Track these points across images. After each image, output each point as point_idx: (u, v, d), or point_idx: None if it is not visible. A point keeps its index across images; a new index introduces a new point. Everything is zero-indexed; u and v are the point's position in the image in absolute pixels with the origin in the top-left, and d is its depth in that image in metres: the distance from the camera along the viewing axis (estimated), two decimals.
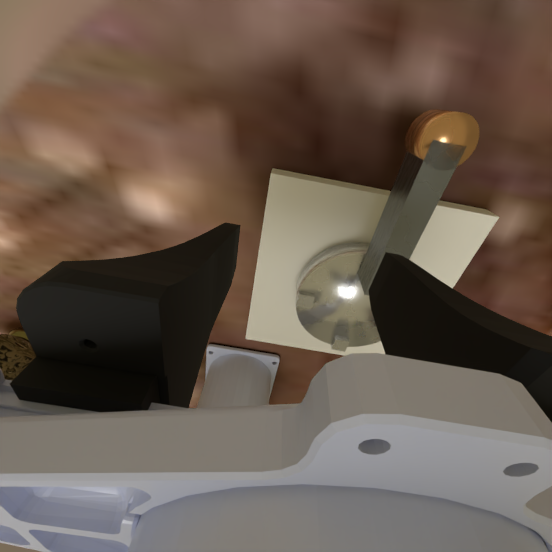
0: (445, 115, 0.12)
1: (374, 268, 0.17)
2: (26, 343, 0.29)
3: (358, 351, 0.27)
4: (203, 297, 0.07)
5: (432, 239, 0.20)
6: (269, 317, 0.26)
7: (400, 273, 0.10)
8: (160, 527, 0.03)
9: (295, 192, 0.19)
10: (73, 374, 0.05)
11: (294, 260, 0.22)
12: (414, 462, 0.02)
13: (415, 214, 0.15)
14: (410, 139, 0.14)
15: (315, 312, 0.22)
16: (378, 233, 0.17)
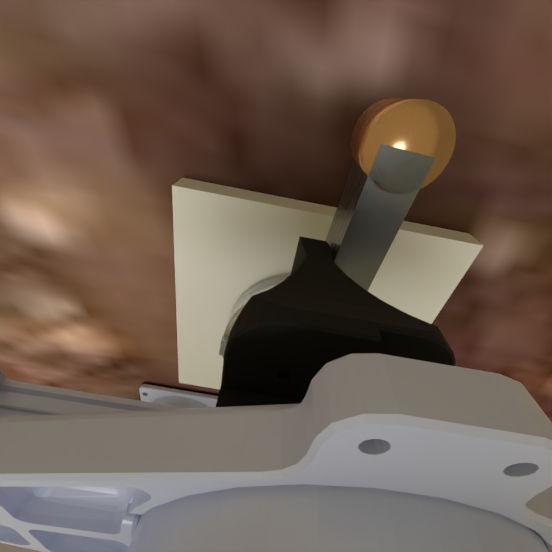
0: (401, 102, 0.07)
1: None
2: None
3: None
4: None
5: (396, 272, 0.15)
6: (203, 359, 0.21)
7: (302, 255, 0.10)
8: (160, 527, 0.03)
9: (209, 210, 0.14)
10: (263, 404, 0.05)
11: (222, 295, 0.17)
12: (414, 462, 0.02)
13: (360, 255, 0.10)
14: (354, 142, 0.09)
15: None
16: None
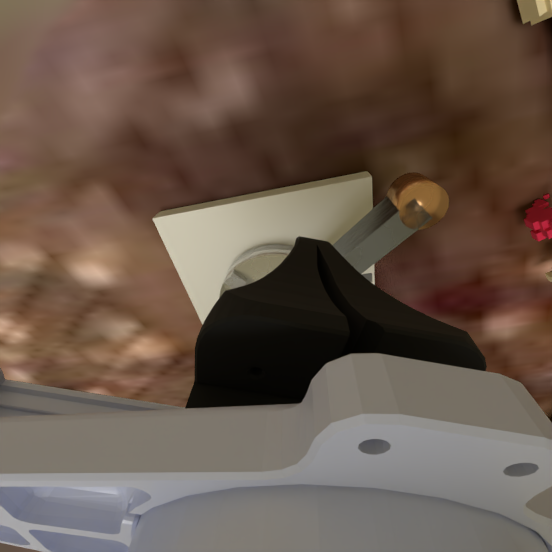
0: (432, 184, 0.14)
1: None
2: None
3: None
4: None
5: (322, 220, 0.20)
6: None
7: (318, 258, 0.10)
8: (160, 527, 0.03)
9: (180, 225, 0.21)
10: (235, 400, 0.05)
11: (215, 281, 0.24)
12: (414, 462, 0.02)
13: (369, 251, 0.16)
14: (395, 188, 0.15)
15: None
16: None
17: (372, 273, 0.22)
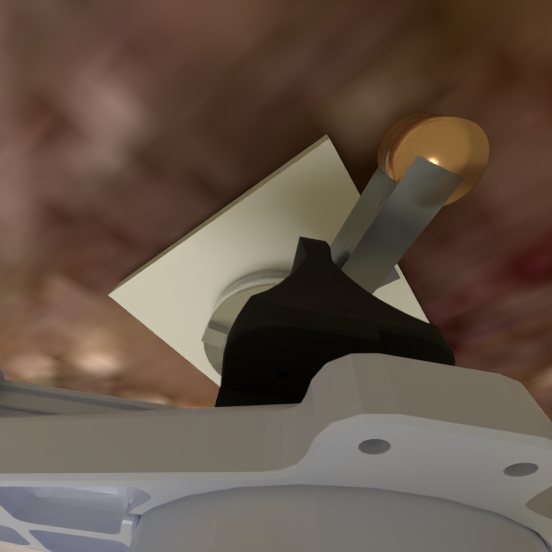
0: (445, 118, 0.07)
1: None
2: None
3: None
4: None
5: (291, 225, 0.14)
6: None
7: (302, 255, 0.10)
8: (160, 527, 0.03)
9: (138, 292, 0.18)
10: (262, 404, 0.05)
11: None
12: (414, 462, 0.02)
13: (371, 262, 0.10)
14: (385, 149, 0.09)
15: None
16: None
17: (395, 267, 0.15)
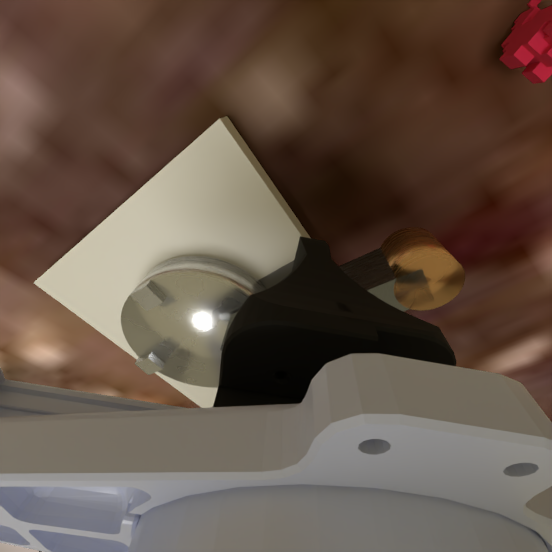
0: (451, 257, 0.10)
1: None
2: None
3: None
4: None
5: (199, 209, 0.14)
6: None
7: (302, 255, 0.10)
8: (160, 527, 0.03)
9: (62, 280, 0.17)
10: (261, 404, 0.05)
11: None
12: (414, 461, 0.02)
13: None
14: (397, 243, 0.11)
15: (150, 316, 0.16)
16: None
17: None
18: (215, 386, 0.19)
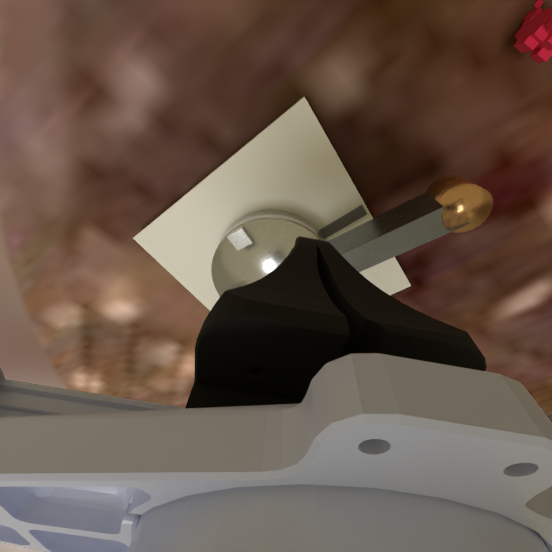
0: None
1: None
2: None
3: None
4: None
5: (279, 170, 0.18)
6: None
7: (318, 258, 0.10)
8: (160, 527, 0.03)
9: (157, 235, 0.22)
10: (235, 400, 0.05)
11: None
12: (414, 462, 0.02)
13: (399, 241, 0.15)
14: (441, 185, 0.15)
15: (236, 258, 0.20)
16: (353, 234, 0.17)
17: (362, 204, 0.19)
18: None
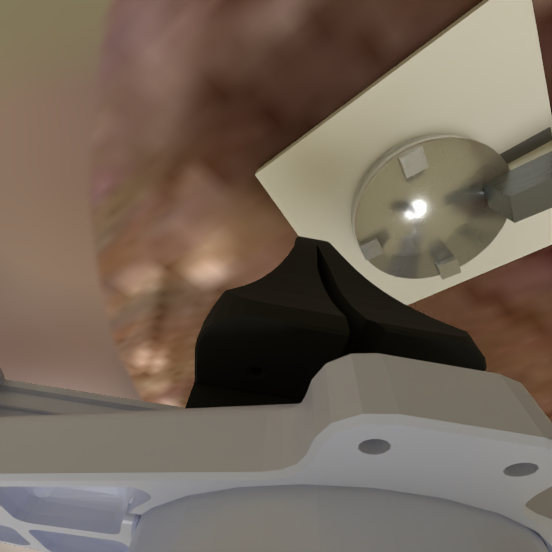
0: None
1: None
2: None
3: (493, 259, 0.21)
4: None
5: (461, 79, 0.15)
6: None
7: (318, 258, 0.10)
8: (160, 527, 0.03)
9: (286, 170, 0.18)
10: (235, 400, 0.05)
11: (338, 224, 0.20)
12: (414, 462, 0.02)
13: None
14: None
15: (395, 191, 0.16)
16: None
17: (550, 127, 0.16)
18: (418, 276, 0.20)
